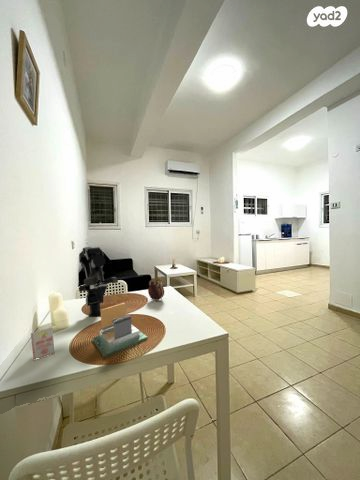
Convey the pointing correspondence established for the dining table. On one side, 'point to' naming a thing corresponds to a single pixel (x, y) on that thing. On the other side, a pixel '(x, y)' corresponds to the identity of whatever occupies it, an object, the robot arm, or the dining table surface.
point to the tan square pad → (112, 315)
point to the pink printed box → (42, 343)
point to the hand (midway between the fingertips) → (101, 301)
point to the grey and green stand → (118, 336)
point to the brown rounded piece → (156, 289)
